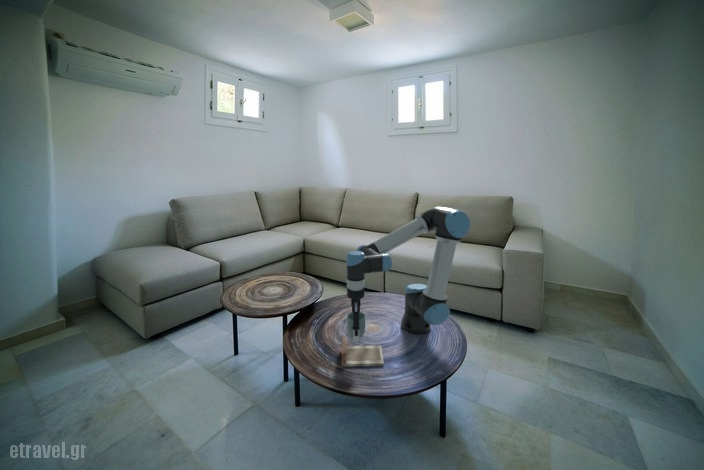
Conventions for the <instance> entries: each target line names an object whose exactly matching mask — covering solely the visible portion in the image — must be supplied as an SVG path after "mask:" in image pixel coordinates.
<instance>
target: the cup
mask: <svg viewBox="0 0 704 470" xmlns="http://www.w3.org/2000/svg"><path fill="white" fill-rule="evenodd" d="M346 315H347V316H346V328H347V334H348V335H349V337H350V338H351V339H353V329H352V327H353V312H352V311H351V312H349V313H348V314H346ZM359 328H360V329H359V339H362V338H363V336H364V335H365V332H366V315H365V313H364V312H362V311H360V312H359Z"/></svg>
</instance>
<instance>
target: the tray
mask: <svg viewBox="0 0 704 470" xmlns="http://www.w3.org/2000/svg"><path fill="white" fill-rule="evenodd" d="M347 337H348V336H342V337H341V367H384V365H385V363H384V356H383V355H384V354H383V351H382V350H383V349H382V346H381V345H348V338H347Z"/></svg>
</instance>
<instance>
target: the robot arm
mask: <svg viewBox="0 0 704 470" xmlns="http://www.w3.org/2000/svg"><path fill="white" fill-rule="evenodd" d="M470 228H471V220H470V217H469V216H468V214H467V213H465V211H462V210H459V209H457V208H451V207H445V206H435V207H432V208H430V209H427V210H426V211H423V212H421V213H419V214H418V215H416V216H415V218H414V219H413V220H411V221H409V222H407V223H406V224H403V226H400V227H397V228H396V229H395V230H393V231H391V232H390V233H388V234H386V235H384V236H382V237H381V238H379V239H377V240H374V241H373V242H371V243H369V244H367V245H366V244H362V245H359V246H357V248H356V250H352V251H349V252H348V253H347V255H346V259H345V260H346V263H345V265H346V280H345V283H346V297H347V298H349V299H350V301H351V312H353V327H352V329H353V338H352V342H353V343H360V338H359V329H360V328H359V312H361V305H362V303H361V299H363V298H364V297H365V296H366V293H365V290H366V289H365V287H366V286H365V285H366V284H365V283H366V281H365V277H366V276H365V274H373V273H381V272H387V271H390V270H391V269H392V266H393V260H392V257H391V255H390V254H389V252H390V251H392V250H394V249H396V248H398V247H400V246H402V245H404V244H405V243H407V242H409V241H411V240H412V239H414V238H416V237H418V236H420V235H421V234H427V233H429V232H432V231H435V234H434V237H435V239H436V240H437V241H436V244H435V248H434V255H433V259H432V264H431V268H430V272H429V278H428V280H427V281H428V282H427V284H424V283H411V284H407V286H405V292H404V312H403V316H402V318H401V322H400V327H401V329H402V330H404V331H405V332H407V333H410V334H414V335H421V334H422V335H423V334H426V333H428V332H429V331H430V330H431V326H438V325H439V326H440V325H442V324H443V323H444V322H446V321H447V320H448V318H449V317H450V315H451V314H450V313H451V310H450V307H449V306H448V304H447V303H448V302H447V301H448V299H449V298H448V295H447V294H446V292H447V287H448V282H449V278H450V275H451V270H452V265H453V261H454V256H455V253H456V249H457V244H458V243H461V242H462V238H464V237H465V236H466V234H468V233H469V231H470Z"/></svg>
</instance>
